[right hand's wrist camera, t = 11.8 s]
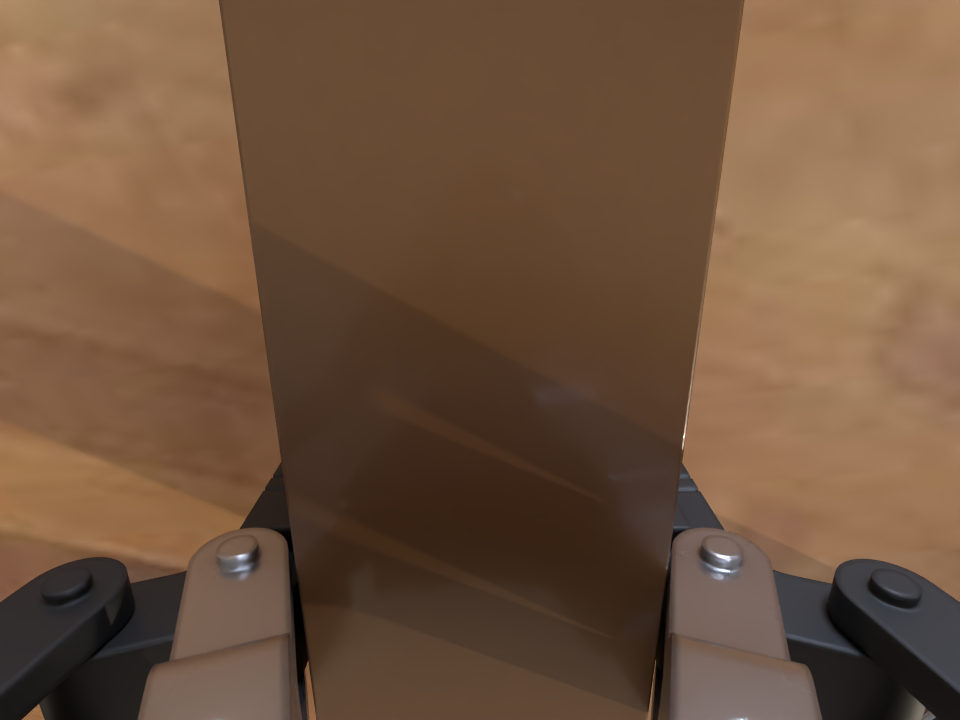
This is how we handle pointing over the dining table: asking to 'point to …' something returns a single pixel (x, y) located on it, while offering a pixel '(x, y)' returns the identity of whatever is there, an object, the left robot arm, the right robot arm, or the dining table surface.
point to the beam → (481, 332)
